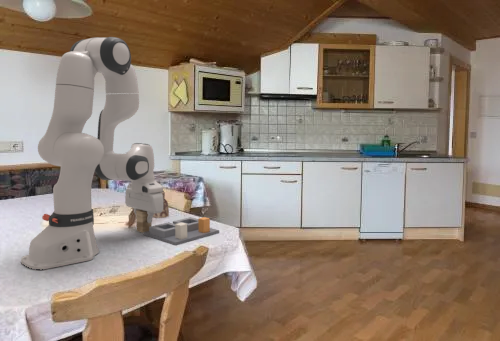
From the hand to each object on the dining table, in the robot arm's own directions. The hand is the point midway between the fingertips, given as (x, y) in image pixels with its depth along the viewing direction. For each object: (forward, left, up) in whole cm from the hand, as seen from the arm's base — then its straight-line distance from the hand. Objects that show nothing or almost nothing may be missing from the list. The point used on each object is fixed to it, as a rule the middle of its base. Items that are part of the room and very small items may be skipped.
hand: (143, 220), depth 164 cm
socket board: (+7, -14, -4) cm, 16 cm away
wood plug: (0, 0, -4) cm, 4 cm away
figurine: (+19, +15, -4) cm, 25 cm away
